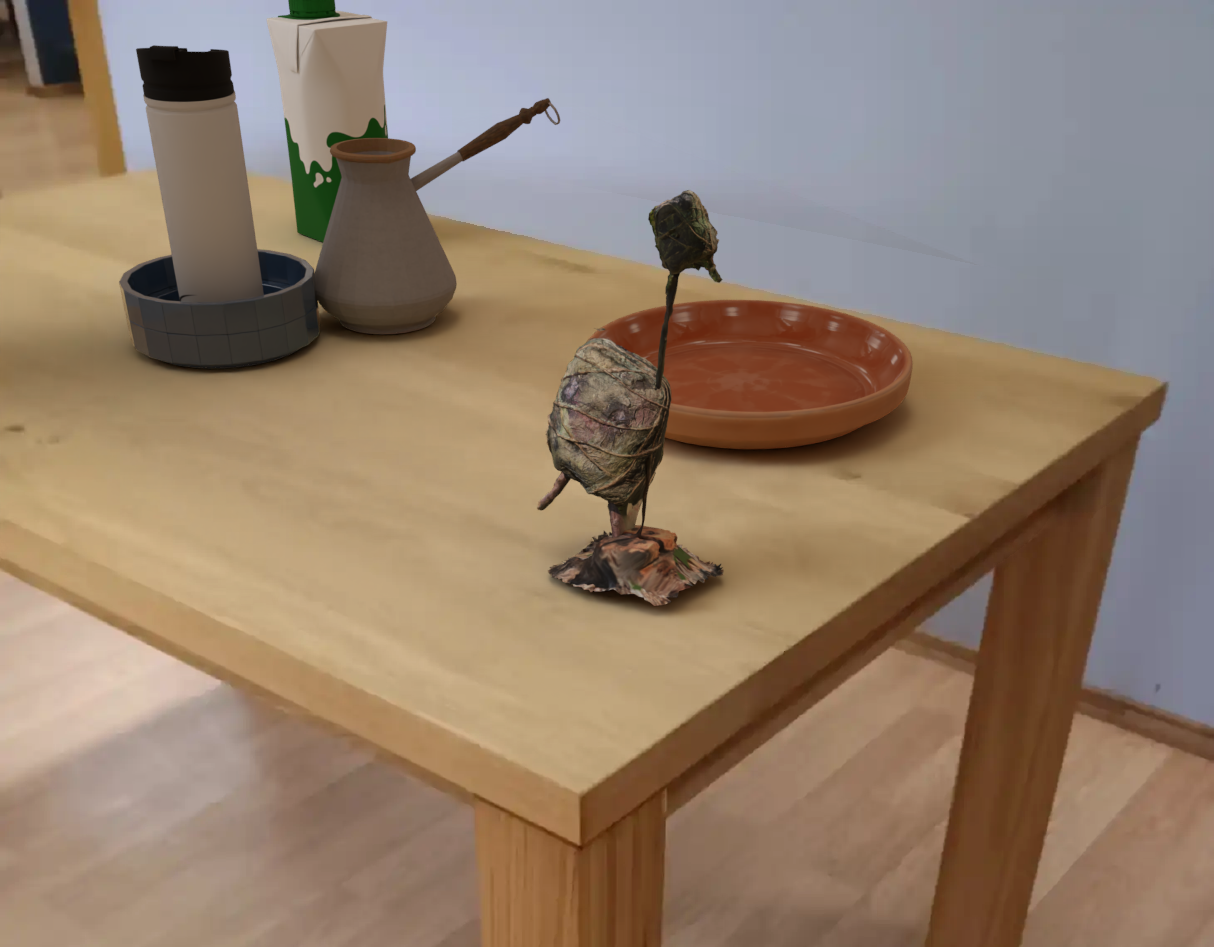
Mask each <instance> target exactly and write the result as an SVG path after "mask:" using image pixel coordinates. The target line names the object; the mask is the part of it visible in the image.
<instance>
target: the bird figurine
mask: <svg viewBox="0 0 1214 947" xmlns="http://www.w3.org/2000/svg"><path fill="white" fill-rule="evenodd" d="M647 220H648V221H649V225H650V226H651V229H652V233H653V235H654V243H655V246H654V247H655V248H656V250H657V251H658V255H659V259H660V261H661V267H662V268H663V269H665V270H667V271H669V274H668V275H667V282H666V285H665V290H664V292H665V293H664V294H665V306H666V313H665V317H664V323H663V325H662V330H661V337H660V344H659V352H658V368H656V366H654V365H653V364H652V363H651V362H649V361H648V360H647V359H645V358H643V357H640V356H639V355H637V354H635V353H633V352H629V351H628V350H626V349H625V348H624V347H622V346H620V345H616V343H614V342H613V341H611V340H609V339H605V338H594V339H593V338H591V339H589V338H588V339H589V341H588V342H587V341H586V342H585V343H584V344H582V345H581V346H578V348H576V351H575V353H574V355H573V358H572V360H571V361H568V364H567V366H566V370H565V373H564V376H562V377H561V379H560V385H559V387H558V390H557V393H556V397H555V400H554V401H553V402H552V410H551V412H550V413H549V414H547V428H546V431H545V436H546V445H547V446H548V450H549V453H550V454H551V459H552V463H553V467H554V468H555V469H556V470H557V471H558V472H560V474H559V475H558V476H557V478H556V479H555V482H554V483H553V488H551V490H550V491H548V492H547V493H546V494H545V495H543V496H542V498H541V499H540V500H538V501H537V502H538V504H537V506H536V509H537V510H538V511H544V510H546V509H547V508H548V507H549V506H550V505H551V504H552V503H553V502H554V501H555V499H556V498H557V497H558V496H559V495H560V494H561V493H563V491H564V489H565V487H566V486H567V485H568V484H569V482H570V481H571V480H573V481H575V482H577V483H579V484H580V486H582V488H583V489H584V490H585V492H586V494H587V495H593V496H595V497H598V498H601V499H602V500H604V501H607V509H608V515H609V523H610V527H611V531H609V532H608V533H607V532H606V531H605V530H603V533H602V534H599V535H597V538H596V537H593V536H592V537H591V538H592V540H593V541H592V540H591V541H590V543H589V544H587V546H586V548H582V549H581V550H580V552H579V551H578V552H577V553H575V554H573V555H572V556H569V557H567V559H564V561H561V564H552V566H549V569H547V573H548V574H549V575H551V578H554V579H557V580H562V583H566V584H569V585H572V586H573V587H577V588H578V587H579V588H582V589H583V591H589V592H590V593H593V591H594V592H600V593H601V592H606V591H611V590H614V591H616V592H617V593H618V594H620V595H635V596H637V597H639V598H643V599H644V601H646V602H648V603H650V604H651V605H653V606H654V607H655V606H663V605H667V604H670V603H672V600H670V599H669V598H678V597H679V592H680V591H684V590H688V589H690V588H691V586H692V587H694V585H696V584H697V583H698V581H699V582H701V583H703V584H705V580H709V577H710V578H712V577H713V578H717V577H723V576H724V571H725V570H724V567H723V566H721V565H722V563H720V564H718V565H717V564H716V563H714V561H712V562H711V561H710V560H709V561H704V560H701V559H700V557H699V556H698V555H696V554H694V553H693V552H691V551H690V550H688V547H683V544H678V543H677V541H678V535H677V533H676V532H671V530H668V529H663V528H658V527H653V526H646V525H645V521H646V520H645V519H646V510H647V502H648V501H647V500H648V492H649V488H650V486H651V484H652V483H653V481H654V479H655V476H656V470H657V469H658V467H659V466H660V464H661V463H662V461H663V458H664V446H665V440H666V438H665V433H666V429H667V422H668V417H669V408H670V405H671V400H672V398H671V389H670V384H669V382H668V380H667V379H666V377H664V374H663V373H664V364H665V351H666V345H667V334H668V322H669V319H670V317H671V315H672V313H673V304H675V300H676V296H677V291H678V286H679V277H680V274H681V273H683V272H684V271H685V270H689V269H695V270H696V271H698V272H699V271H700V270H701V268H704V269H705V270H706V271H707V272H708V275H709V277H710V278H711V279H712V280H713V282H714V283H719V284H720V283H721V282H722V281H723V278H722V277H721V275H720V273H719V272H718V270H717V268H716V267H717V265H716V263H715V261H714V255H715V254H716V253H717V252H718V247H719V246H718V244H719V242H720V239H718V238H717V236H718V230H717V229H716V228H715V227H714V225H713V224H712V223H711V221H710V218H709V212H708V211H707V208H705V206H704V205H703V203H702V201H701V198H700V197H699V195H698V194H697V193H695V192H694V191H692V190H691V189H688V190H687V189H686V190H683V191H682V192H681V193H680V194H678V195H676V196H674V197H672V198H671V199H665V200H664V201H662V202H661V203H660V204H658V205H655V206H654V207H653V208H652V209H651V210H650V212H649V213H648V218H647ZM600 328H601V327H600ZM600 328H598V327H597V328H595V327H594V328H593V329H595V330H596V331H597V330H599V331H603V330H605V329H604V328H601V329H600ZM640 510H641V524H640V525H639V524H636V523H637V519H638V515H639V512H640ZM693 584H694V585H693Z"/></svg>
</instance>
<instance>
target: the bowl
mask: <svg viewBox="0 0 1214 947" xmlns="http://www.w3.org/2000/svg"><path fill="white" fill-rule="evenodd" d="M257 251H258V258H259V265H260V272H261V279H262V286H263V293H264V295H262V296H258V297H253V298H247V299H239V300H231V301H223V302H181V301H180V299H179V293H178V287H177V282H176V276H175V270H174V265H173V259H172V254H168V255H162V256H158V257H155V258H152V259H150V260H146V261H144V262H141V263H137V264H136V265H134V266H133V267H131V268H130V269H128V270H126V271H124V272H123V274H122V276H121V277H120V278H119V281H118V284H119V290H120V294H121V300H122V304H123V309H124V313H125V314H124V315H125V320H126V323H127V324H126V325H127V328H128V334H129V338H130V342H131V343H132V345H133V347H134V349H135V350H136V351H137V352H139V353H141V354H143V355H145V356H147V357H148V358H151V359H154V360H157V361H160V362H163V363H166V364H168V365H172V366H173V365H174V366H176V367H183V368H193V369H206V370H207V369H210V370H211V369H213V370H215V369H216V370H217V369H232V368H233V369H234V368H235V369H236V368H243V367H251V366H255V365H261V364H266V363H270V362H273V361H276V360H279V359H282V358H285V357H288V356H290V355H292V354H294V353H296V352H297V351H299V350H301V349H302V348H305V347H306V346H308V345H310V344H311V343H312V342H313V341H314V340H315V339H317V338H318V337H319V335H320V330H321V318H320V309H319V308H320V307H319V302H318V300H317V291H316V282H315V274H314V273H315V269H314V267H313V266H312V265H311V264H310V263H309V262H308V261H307V260H306V259H304V258H301V257H299V256H296V255H294V254H291V253H287V252H283V251H276V250H271V249H260V248H257Z"/></svg>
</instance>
